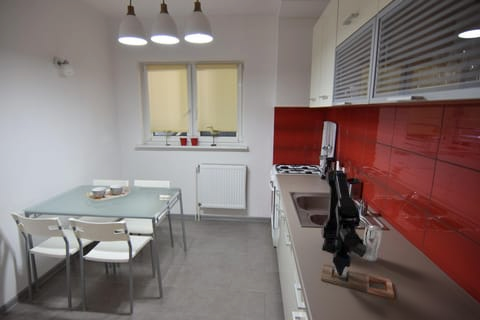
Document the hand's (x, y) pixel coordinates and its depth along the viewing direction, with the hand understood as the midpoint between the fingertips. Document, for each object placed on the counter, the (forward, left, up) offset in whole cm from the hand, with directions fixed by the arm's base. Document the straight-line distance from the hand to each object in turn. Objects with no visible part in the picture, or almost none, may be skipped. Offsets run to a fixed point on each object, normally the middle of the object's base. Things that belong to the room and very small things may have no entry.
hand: (340, 268), depth 109 cm
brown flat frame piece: (0, +6, -4) cm, 7 cm away
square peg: (0, 0, -4) cm, 4 cm away
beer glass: (-21, +12, -4) cm, 24 cm away
